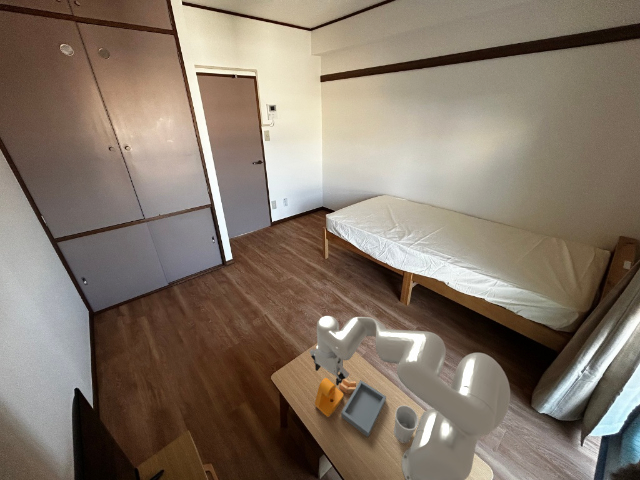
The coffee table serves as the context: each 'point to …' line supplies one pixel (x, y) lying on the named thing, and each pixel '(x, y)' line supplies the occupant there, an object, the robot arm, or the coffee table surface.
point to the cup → (405, 423)
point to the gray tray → (363, 407)
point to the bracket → (328, 397)
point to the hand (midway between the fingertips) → (328, 374)
